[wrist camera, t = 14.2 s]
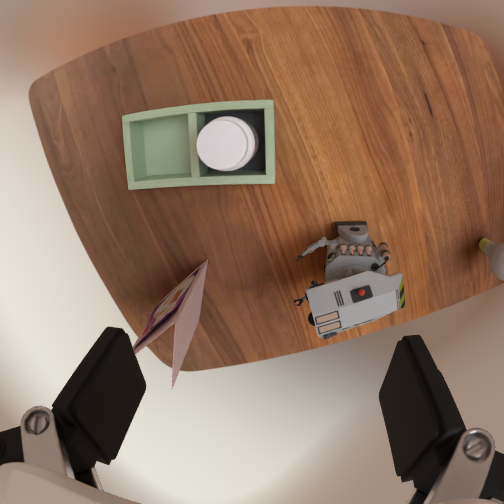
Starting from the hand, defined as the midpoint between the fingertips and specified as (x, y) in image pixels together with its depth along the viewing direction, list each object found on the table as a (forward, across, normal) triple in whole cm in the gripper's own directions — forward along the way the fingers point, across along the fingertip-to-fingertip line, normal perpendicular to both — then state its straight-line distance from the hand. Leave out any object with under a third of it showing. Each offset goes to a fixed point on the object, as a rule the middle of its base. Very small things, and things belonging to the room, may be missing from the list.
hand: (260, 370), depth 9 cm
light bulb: (+31, -34, +7) cm, 46 cm away
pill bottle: (+30, +5, -6) cm, 31 cm away
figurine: (+31, -8, +9) cm, 33 cm away
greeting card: (+31, +12, +16) cm, 36 cm away
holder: (+30, +9, -6) cm, 32 cm away
